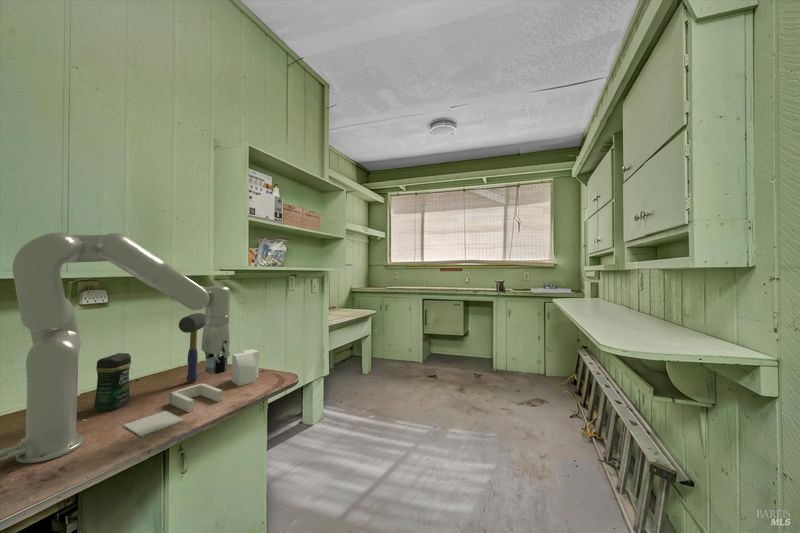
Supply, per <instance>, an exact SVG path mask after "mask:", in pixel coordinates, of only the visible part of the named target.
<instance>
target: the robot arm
mask: <svg viewBox="0 0 800 533" xmlns="http://www.w3.org/2000/svg"><path fill="white" fill-rule="evenodd" d="M97 262H99V263H100V262H108V263H109V262H110V263H111V264H112V265H114V266H115V267H118V268H119V269H121V270H122V271H124V272H125V273H128V274H129V275H131V276H132V277H134V278H135V279H137V280H139V281H140V282H142V283H144V284H145V285H147V286H149V287H152V288H154V289H155V290H158V291H160V292H161V293H164V295H167V297H170V298H171V299H173V300H175V301H176V302H179V303H180V304H181V305H183V306H184V307H185V308H187V309H189V310H193V311H196V310H202V309H205V312H204V314H205V325H204V327H203V328H202V329H203V330H202V336H201V337H202V338H201V347H200V348H201V349H200V350H201V351H203V352H204V355H205V359H206V358H210V357H214V356H216V359H217V362H216V363H215V374H216V375H218V373H219V374H222V372H223V373H225V372H224V371H225V361H226V358H229V356H230V355H231V352H230V342H231V341H230V326H229V324H230V306H231V305H230V303H231V290H230V288H229V287H228V286H225V285H224V286H222V285H215V286H201V285H199V284H198V283H196V282H194V281H193V280H191V279H190V278H188V277H187V276H186V275H184V274H182V273H181V272H179V270H176V269H175V268H174V267H173V266H171V265H170V264H168V262H166V261H164V260H163V259H161V258H160V257H158V256H156V254H154V253H152V252H150V251H149V250H148V249H146V248H144V247H143V246H141V244H139V243H137V242H136V241H134V240H133V239H131V238H130V237H129V236H127V235H124V234H121V233H119V232H113V233H112V232H111V233H108V234H70V233H69V234H68V233H66V232H59V231H58V232H49V233H46V234H43V235H42V234H41V235H40V236H37V237H35V238H34V239H32V240H30V241H28V242H26V243H25V244H24V245H23V246H21V248H20V249H19V250H18V251H17V253H16V254H15V257H14V259H13V262H12V275H13V282H14V286H15V293H16V297H17V299H16V300H17V302H18V303H17V304H18V308H19V314H20V321H21V323H22V325H23V326H24V327H25V328H26V329H28V330H29V332H30V336H31V340H32V346H31V347H30V348H29V350H28V353H27V355H26V358H25V359H26V360H25V369H26V371H25V372H26V408H25V409H26V413H25V437H23V438H21V439H20V440H21V441H20V442H18V443H16V444H15V445H13V446H9V447H5V448H2V449H0V459H1V458H5V457H6V459H10V458H13V457H15V461H16V462H18V463H21V464H33V463H41V462H45V461H46V462H47V461H49V460H53V459H56V458H58V457H63V456H65V455H67V454H69V453H71V452H73V451H75V450H76V449H78V448H79V447H81V446H82V445H83V443H84V437H83V435H81V434H78V433H77V418H78V416H77V415H78V412H77V411H78V388H79V387H78V386H79V385H78V384H79V382H78V380H79V379H78V378H79V359H80V358H79V357H80V355H79V354H80V350H81V344H82V341H81V336H80V331H79V328H78V322H77V317H76V313H75V309H74V306H73V304H72V302H71V301H70V300H69V299H68V298H66V295H65V290H64V286H63V279H62V276H61V269H62V266H63V265H64V264H69V263H70V264H72V263H73V264H76V263H97ZM220 356H221V357H220Z"/></svg>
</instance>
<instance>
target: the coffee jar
mask: <svg viewBox="0 0 800 533" xmlns="http://www.w3.org/2000/svg"><path fill="white" fill-rule="evenodd" d="M131 365H132V356H131V354H129V353H126V352H125V353H123V352H117V353H115V354H113V355H112V354H111V355H110V356H106V357H102V358H100V359H98V360H97V361H96V367H95V368H96V369H95V370H96V373H97V374H96V376H97V378H96V380H97V382H96V389H95V390H96V391H95V398H94V404H93V405H94V406H93V409H94V410H95V411H99V412H106V411H114V410H117V409H118V408H120V407H123V406H124V405H126V404H127V403H129V402H130V399H131V398H130V397H131V395H130V393H131V392H130V369H131Z"/></svg>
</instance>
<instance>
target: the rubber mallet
mask: <svg viewBox="0 0 800 533" xmlns="http://www.w3.org/2000/svg"><path fill="white" fill-rule="evenodd" d="M204 325H205V313H202V312H197V313H191V314H188V315H187V316H183V317H182V318H181V319H180V320H179V322H178V328H179V330H180V331H181V332H183V333H185V334H188V333H190V336H189V350H188V353H187V375H186V381H187V382H188V383H190V384H191V383H195V382H197V380H198V377H197V372H198V371H197V365H198V362H199V361H198V359H199V358H198V356H199V355H198V354H199V353H198V349H197V348H198V347H197V346H198V345H197V344H198V340H197V339H198V331H199V330H201V329H204Z"/></svg>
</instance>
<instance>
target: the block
mask: <svg viewBox="0 0 800 533" xmlns="http://www.w3.org/2000/svg"><path fill="white" fill-rule="evenodd" d="M221 356H222V355H220V357H221ZM228 358H229V357H227V358H226V361H225V371H224V372H222V373H226V372H228V362H229V361H228ZM216 362H217V359H216V355H215V356H214V357H210V358H205V366H204V367H205V368H204V371H205V373H206V374H209V375H212V376H215V375H218V374H220V373H218V374H215V363H216ZM222 373H221V374H222Z"/></svg>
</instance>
